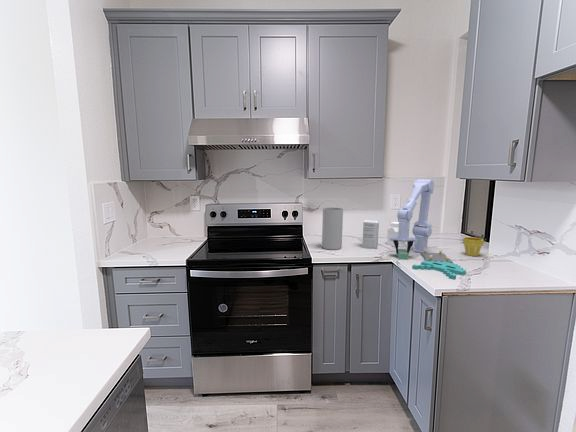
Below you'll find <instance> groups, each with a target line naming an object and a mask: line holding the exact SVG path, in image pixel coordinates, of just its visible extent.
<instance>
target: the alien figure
mask: <svg viewBox="0 0 576 432" xmlns="http://www.w3.org/2000/svg"><path fill="white" fill-rule="evenodd" d="M411 267H412V269H413V270H415V271H416V270H421V271H424V270H426V271H431V270H432V271H437V272H440V273H442V274H444V275H445V276H446V277H447V278H448V279H450V280H456V278H457V275H459V276H464V275H466V274H467V269H464V267H461V266H460V265H458V263H454V262H453V263H450V262H445V261H444V262H440V261H437V262H435V261H425V260H423V261H421V263H420V264H415V263H414V264H412V265H411Z"/></svg>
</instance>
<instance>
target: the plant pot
mask: <svg viewBox="0 0 576 432" xmlns="http://www.w3.org/2000/svg"><path fill="white" fill-rule="evenodd" d="M462 244H463V247H464V253H465V256H469V257H470V256H471V257H479V256H480V253H481V249H482V246H484V239H483V238H480V237H474V236H473V237H472V236H464V237H463V238H462Z"/></svg>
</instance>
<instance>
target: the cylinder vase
mask: <svg viewBox="0 0 576 432" xmlns="http://www.w3.org/2000/svg"><path fill="white" fill-rule="evenodd" d="M343 220H344V208H342V207H323V208H322V228H321V229H322V234H321V247H322V248H323V249H325V250H330V251H334V250H341V249H342V248H343V246H342V245H343V226H344V225H343V223H344V221H343Z"/></svg>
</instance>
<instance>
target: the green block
mask: <svg viewBox="0 0 576 432" xmlns="http://www.w3.org/2000/svg"><path fill="white" fill-rule="evenodd" d="M396 257H397V259H398V260H406V261H408V260H409V255H408V252H407V248H398V254H396Z"/></svg>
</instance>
